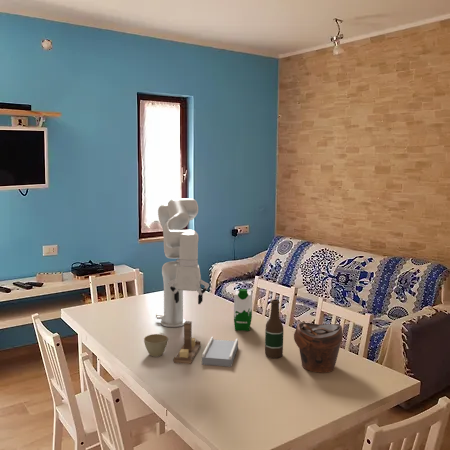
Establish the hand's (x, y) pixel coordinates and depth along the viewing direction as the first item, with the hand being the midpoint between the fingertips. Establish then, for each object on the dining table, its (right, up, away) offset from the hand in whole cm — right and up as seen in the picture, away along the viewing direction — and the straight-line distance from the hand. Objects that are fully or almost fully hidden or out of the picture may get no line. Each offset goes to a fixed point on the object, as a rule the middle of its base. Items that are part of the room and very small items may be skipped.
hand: (188, 302), depth 202 cm
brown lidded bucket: (+52, -25, -7) cm, 58 cm away
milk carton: (+24, -18, +35) cm, 46 cm away
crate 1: (-2, -22, -4) cm, 22 cm away
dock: (+13, -23, +2) cm, 26 cm away
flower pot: (-14, -22, +2) cm, 26 cm away
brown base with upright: (0, -22, +3) cm, 23 cm away
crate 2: (+1, -20, +9) cm, 22 cm away
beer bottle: (+36, -23, +3) cm, 43 cm away
